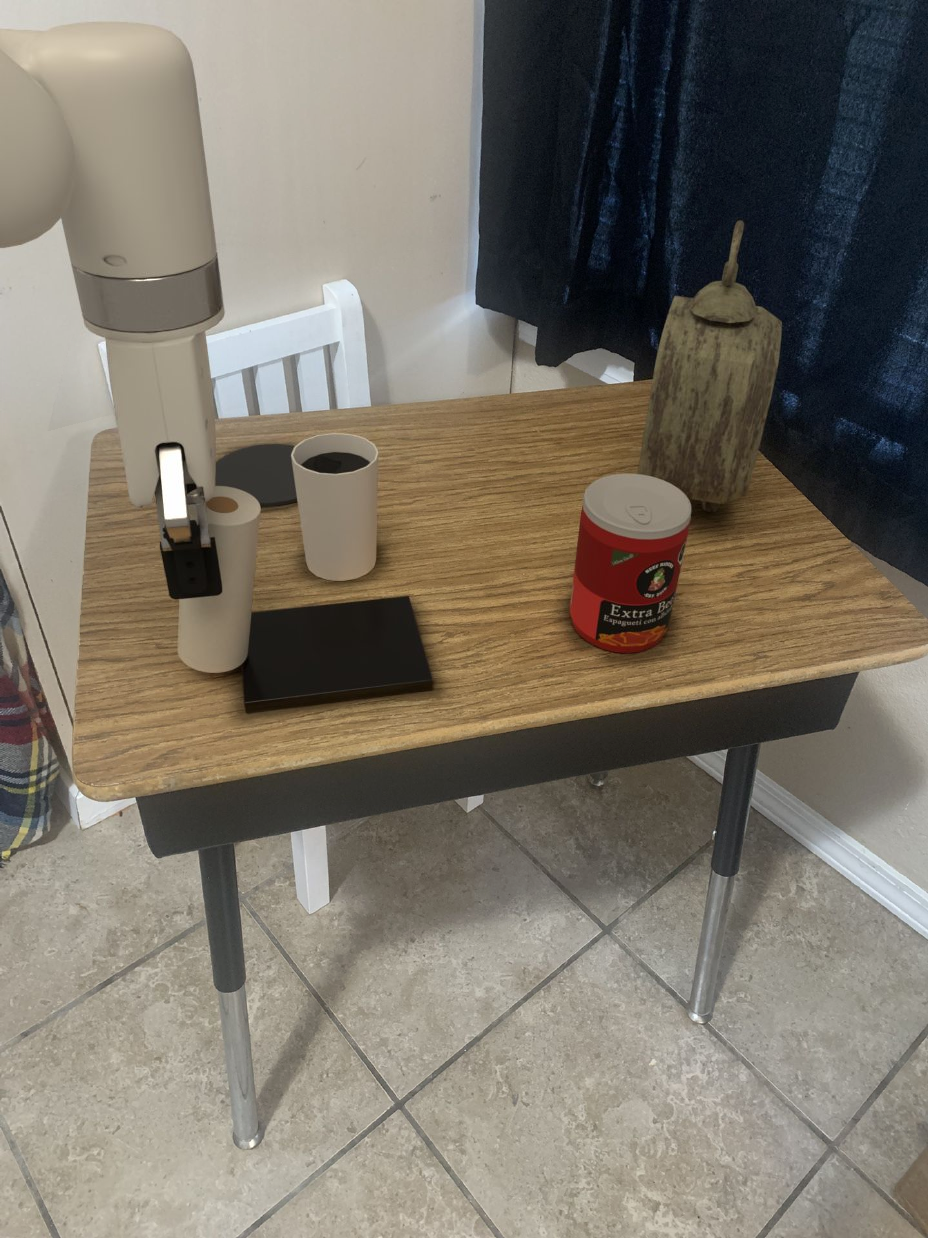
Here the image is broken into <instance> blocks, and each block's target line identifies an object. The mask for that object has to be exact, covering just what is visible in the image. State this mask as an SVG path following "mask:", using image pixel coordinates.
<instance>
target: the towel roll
mask: <svg viewBox="0 0 928 1238" xmlns="http://www.w3.org/2000/svg"><path fill="white" fill-rule="evenodd" d="M188 494H197V489H196V490H193V491H191V492H190V493H188ZM206 508H207V516H208V524H209V533H210V537H215V541H216V548H217V554H218V561H219V567H220V574H221V580H222V593H221V594H220V595H217V596H208V597H198V598H188V599H179V601H178V629H177V655H178V657H179V659H180V661H181V662H182V663H183V664H184V665H186V666H187V667H189V668H191V669H193V670H196V671H199V672H202V673H208V674H211V673H212V674H220V673H226V672H230V671H233V670H235V669H237V668H238V667H240V666H242V663H243V662H244V661H245V660H246V658H247V655H248V645H249V634H250V623H251V612H253V610H252V609H253V602H254V601H253V599H254V589H255V577H256V568H257V567H256V566H257V557H258V556H257V555H258V546H259V545H258V543H259V534H260V522H261V511H262V510H261V509H262V508H261V507H260V504H259V502H258V501H257V499H256V498H255V497H253V496H252V495H250V494H249V493H247V492H245V491H242V490H239V489H236V488H232V487H226V486H215V495H214V496H213V497H212V498H211V499H210V500H209V501H207V502H206ZM188 509H189V514H190V520H195V521H196V522H197V525H198V517H197V509H196V504H191V505H188Z"/></svg>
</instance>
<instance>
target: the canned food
mask: <svg viewBox="0 0 928 1238" xmlns="http://www.w3.org/2000/svg"><path fill="white" fill-rule="evenodd" d="M691 515H692V504H691V501H690V499H689V498H687V496H686V495H685V494H684V493H683V492H682V491H681V490H680V489H678V488H677V487H675V486H674V485H672V484H670V483H668V482H666V481H664V480H661V479H658V478H655V477H651V476H647V475H641V474H638V473H614V474H610V475H605V476H602V477H600V478H597V479H595V480H594V481H593V482H591V483H590V484H589V485H587V487H586V489H585V491H584V495H583V498H582V504H581V510H580V518H579V526H578V536H577V545H576V553H575V562H574V570H573V579H572V587H571V596H570V603H569V613H570V619H571V622H572V626H573V627H574V629H575V631H576V632H577V634H578V635H579V636H580V637H581V638H583V639H584V640H585V641H586V642H588V643H589V644H590V645H592V646H595V647H596V648H599V649H602V650H605V651H609V652H613V653H614V652H615V653H622V654H624V653H625V654H626V653H627V654H631V653H639V652H642V651H646V650H649V649H650V648H653V647H655V645H657V644H659V642H660V641H661V639H662V638H663V637H664V635H665V634H666V632H667V631H668V629H669V625H670V622H671V617H672V612H673V607H674V604H675V603H674V602H675V598H676V593H677V588H678V583H679V578H680V574H681V570H682V569H681V568H682V564H683V559H684V553H685V550H686V545H687V542H688V541H687V540H688V535H689V531H690V524H691V519H692V516H691Z"/></svg>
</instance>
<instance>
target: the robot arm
mask: <svg viewBox="0 0 928 1238" xmlns="http://www.w3.org/2000/svg"><path fill="white" fill-rule="evenodd" d="M196 80H197V79H196V74H195V69H194V65H193V60H192V57H191V54H190V51H189V49H188V47H187V45H185V43H184V41H183V40H182V39H181V38H180V37H179V36H178V35H177V34H175V33H174V32H172V31H171V30H168V29H166V28H163V27H161V26H157V25H154V24H149V23H139V22H132V21H131V22H129V21H85V22H76V23H68V24H62V25H57V26H53V27H51V28H47V29H46V30H29V29H13V28H11V29H10V28H0V249H6V248H12V247H17V246H18V247H19V246H22V245H25V244H27V243H29V242H32V241H35V240H37V239H38V238H40V237H42V236H43V235H44V234H46V233H47V232H48V231H50V230H51V229H52V228H53V227H54V226H55V225H57V223H58V222H59V221H60V219H61V224H62V230H63V234H64V237H65V242H66V248H67V251H68V256H69V257H68V258H69V261H70V265H71V269H72V274H73V279H74V284H75V287H76V288H75V289H76V293H77V297H78V302H79V306H80V312H81V315H82V320H83V323H84V327H85V328H86V329H87V330H88V331H89V332H91V333H92V334H94V335H96V336H99V337H101V338H104V341H105V352H106V359H107V360H106V361H107V370H108V377H109V384H110V392H111V397H112V398H111V399H112V404H113V410H114V416H115V423H116V428H117V433H118V438H119V446H120V451H121V457H122V462H123V468H124V474H125V479H126V485H127V493H128V498H129V502H130V503H131V504H132V505H133V506H134V507H136V508H137V509H139V508H140V509H142V508H143V506H145V507H146V506H152V503H153V499H155V505H156V512H157V521H158V529H159V537H160V541H159V550H160V555H161V560H162V565H163V571H164V575H165V581H166V586H167V590H168V596H169V597H170V599H172V600H175V601H176V600H179V599H188V598H198V597H208V596H217V595H220V594H221V593H222V580H221V574H220V567H219V561H218V554H217V548H216V541H215V537H210V533H209V524H208V516H207V508H206V502H207V501H209V500H210V499H211V498H212V497H213V496H214V495H215V472H216V462H217V439H216V437H217V436H216V435H217V434H216V432H217V431H216V417H215V401H214V392H213V391H214V390H213V383H212V381H213V380H212V374H211V366H210V358H209V349H208V348H209V347H208V341H207V334H206V332H207V331H208V330H211V329H212V328H214V327H216V326H217V325H219V324H220V322H221V321H222V320H224V317H225V314H226V313H225V312H226V311H225V304H224V294H223V287H222V280H221V271H220V265H219V264H220V263H219V256H218V248H217V247H218V246H217V241H216V240H217V239H216V232H215V225H214V216H213V207H212V201H211V200H212V199H211V192H210V185H209V177H208V168H207V161H206V153H205V145H204V138H203V137H204V136H203V129H202V120H201V114H200V113H201V112H200V105H199V97H198V90H197V89H198V88H197V81H196ZM196 489H197V494H188V493H190V492H191V491H193V490H196ZM154 497H155V498H154ZM191 504H196V509H197V517H198V525H197V522H196V521H195V520H190V514H189V509H188V505H191Z"/></svg>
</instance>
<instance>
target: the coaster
mask: <svg viewBox="0 0 928 1238" xmlns="http://www.w3.org/2000/svg"><path fill="white" fill-rule="evenodd" d="M295 446H296V445H291V444H281V443H267V444H258V445H252V446H247V447H244V448H239V449H237V450H234V451H231V452H230V453H227V454H225V455H224V456H223V457H221V458H219V459H218V460H216V472H215V486H226V487H232V488H236V489H239V490H242V491H245V492H247V493H249V494H250V495H252V496H253V497H255V498H256V499H257V501H258V502H259V504H260V507H267V508H268V507H278V506H279V507H280V506H285V505H289V504H293V503H296V502H297V503H298V501H297V494H296V487H295V480H294V473H293V466H292V459H291V454H292V451H293V449H294V447H295Z"/></svg>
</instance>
